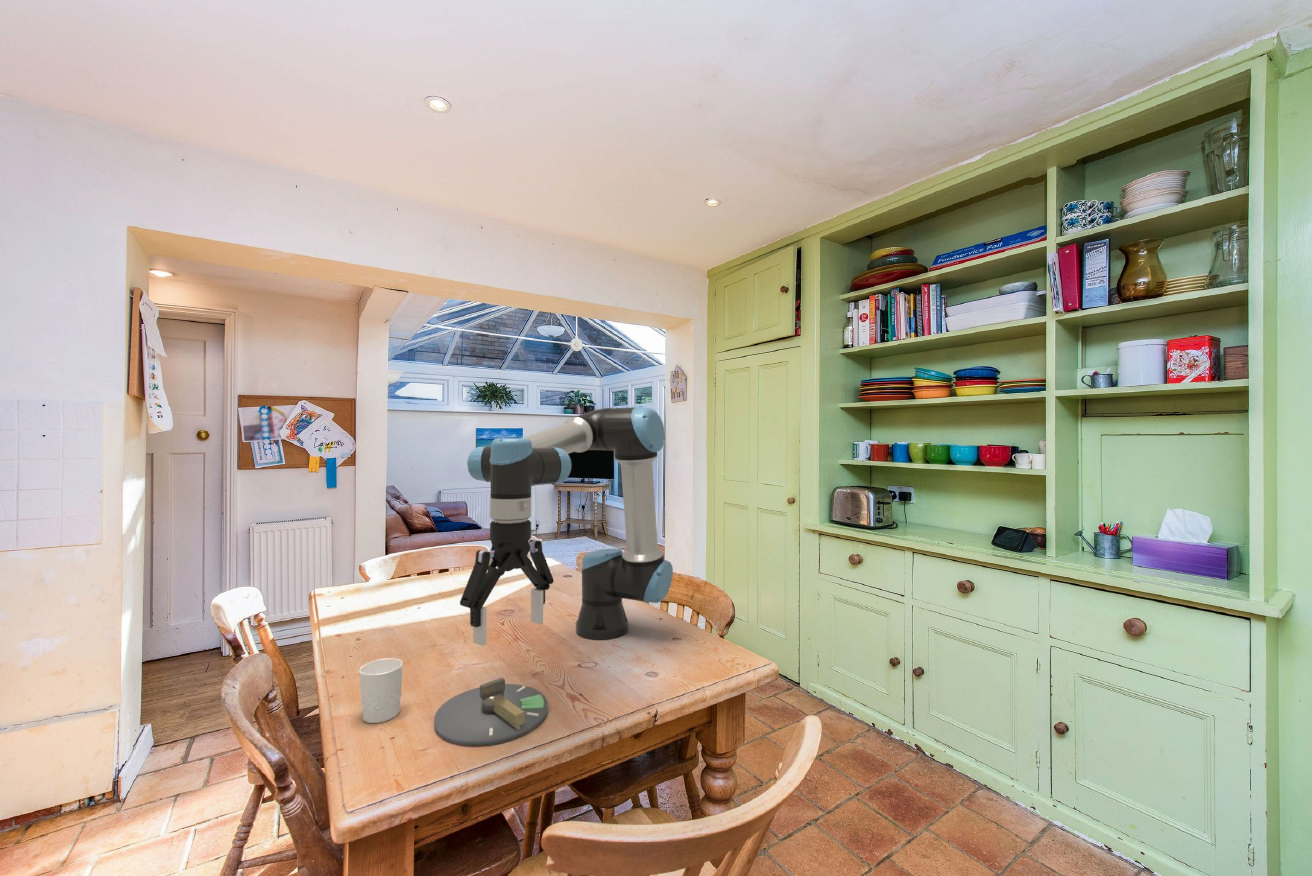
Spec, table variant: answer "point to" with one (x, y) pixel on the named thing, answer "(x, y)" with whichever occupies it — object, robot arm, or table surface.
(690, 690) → the table surface
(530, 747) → the table surface
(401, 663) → the white cup
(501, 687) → the needle
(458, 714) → the dial
